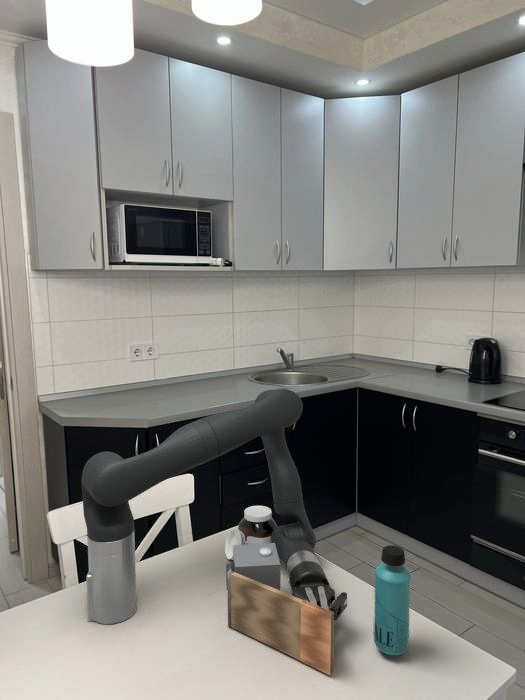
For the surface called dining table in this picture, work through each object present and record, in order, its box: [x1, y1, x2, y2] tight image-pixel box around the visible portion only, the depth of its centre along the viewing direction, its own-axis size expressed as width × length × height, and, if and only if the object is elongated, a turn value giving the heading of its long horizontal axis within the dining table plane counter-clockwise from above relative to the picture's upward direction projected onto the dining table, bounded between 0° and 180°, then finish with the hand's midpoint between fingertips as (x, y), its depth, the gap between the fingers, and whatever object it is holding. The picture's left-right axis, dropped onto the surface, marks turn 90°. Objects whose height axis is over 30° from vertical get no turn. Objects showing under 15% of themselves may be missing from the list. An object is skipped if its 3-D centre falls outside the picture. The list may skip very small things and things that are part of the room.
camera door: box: [226, 571, 335, 676], centre depth 96 cm, size 23×1×11 cm, turn 54°
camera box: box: [225, 543, 281, 592], centre depth 108 cm, size 11×9×13 cm
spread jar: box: [224, 505, 278, 561], centre depth 129 cm, size 12×11×12 cm
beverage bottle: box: [373, 544, 412, 656], centre depth 94 cm, size 6×7×20 cm
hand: (326, 631), depth 91 cm, fingers closed
